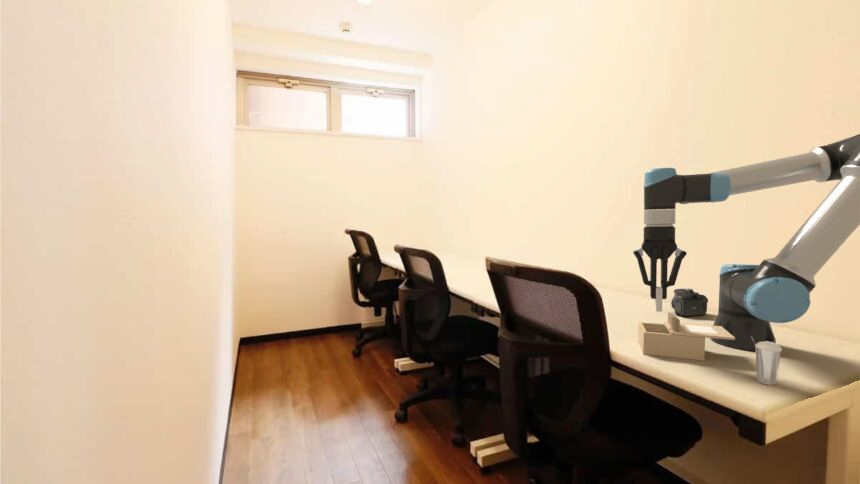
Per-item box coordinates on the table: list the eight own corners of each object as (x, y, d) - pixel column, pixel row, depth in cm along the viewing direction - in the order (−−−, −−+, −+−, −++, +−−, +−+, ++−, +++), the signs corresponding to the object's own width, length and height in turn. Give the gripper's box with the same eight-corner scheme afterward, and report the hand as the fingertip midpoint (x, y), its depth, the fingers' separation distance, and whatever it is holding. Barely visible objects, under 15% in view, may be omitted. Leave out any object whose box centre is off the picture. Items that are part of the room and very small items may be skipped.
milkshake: (749, 375, 94) (751, 333, 93) (779, 381, 91) (781, 338, 90) (748, 381, 90) (750, 338, 90) (780, 388, 87) (782, 343, 86)
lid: (721, 328, 111) (721, 315, 111) (734, 340, 101) (735, 326, 100) (663, 323, 116) (663, 311, 116) (670, 334, 106) (671, 320, 106)
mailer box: (693, 347, 114) (694, 326, 113) (704, 360, 103) (705, 337, 103) (638, 341, 119) (638, 321, 118) (643, 354, 109) (643, 332, 108)
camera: (680, 309, 158) (680, 284, 158) (709, 314, 151) (710, 287, 150) (665, 314, 150) (666, 288, 149) (696, 320, 142) (697, 292, 142)
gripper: (683, 224, 111) (682, 308, 113) (631, 225, 116) (630, 306, 117) (690, 225, 104) (688, 315, 106) (634, 226, 109) (633, 312, 110)
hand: (658, 310), depth 111 cm, fingers closed
